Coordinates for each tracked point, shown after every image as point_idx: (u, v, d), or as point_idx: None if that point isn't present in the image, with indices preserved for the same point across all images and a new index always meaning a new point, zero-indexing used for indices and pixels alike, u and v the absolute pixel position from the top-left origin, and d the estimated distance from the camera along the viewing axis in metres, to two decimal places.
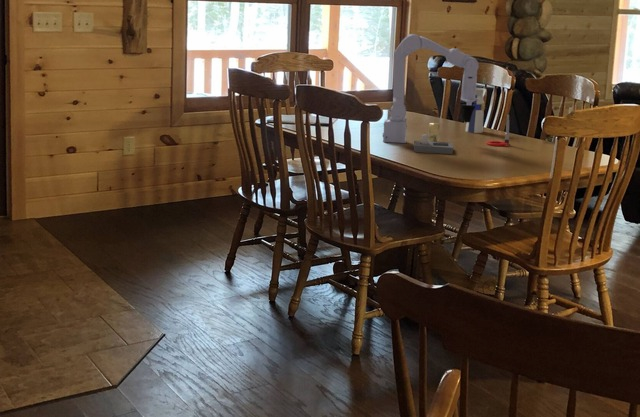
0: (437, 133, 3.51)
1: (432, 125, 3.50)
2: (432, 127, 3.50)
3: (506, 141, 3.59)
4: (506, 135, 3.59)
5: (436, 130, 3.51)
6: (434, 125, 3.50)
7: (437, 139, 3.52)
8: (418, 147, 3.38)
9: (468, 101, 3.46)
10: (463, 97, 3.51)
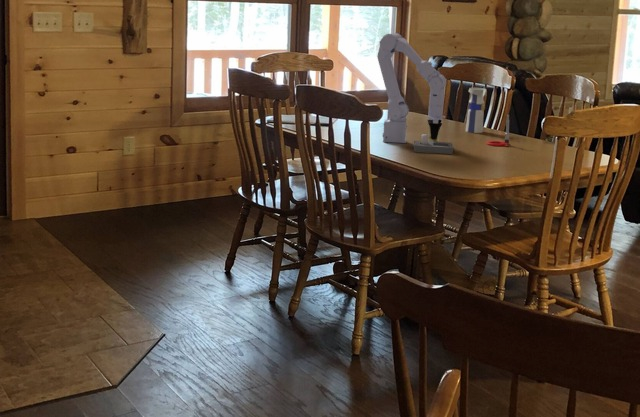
0: None
1: None
2: None
3: (506, 141, 3.59)
4: (506, 135, 3.59)
5: None
6: None
7: (437, 139, 3.52)
8: (418, 147, 3.38)
9: (435, 119, 3.44)
10: (430, 115, 3.49)
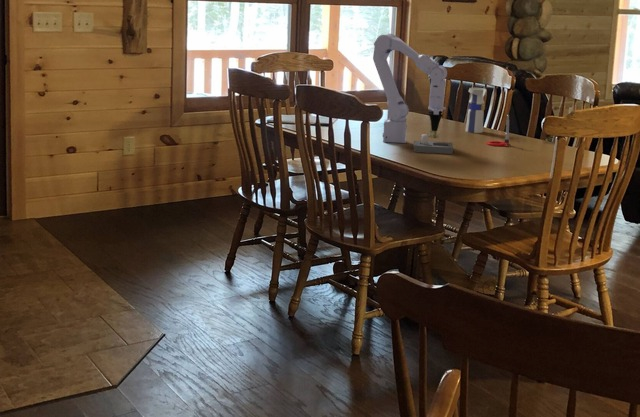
0: None
1: None
2: None
3: (506, 141, 3.59)
4: (506, 135, 3.59)
5: None
6: None
7: (438, 131, 3.51)
8: (418, 147, 3.38)
9: (435, 110, 3.43)
10: (431, 106, 3.48)
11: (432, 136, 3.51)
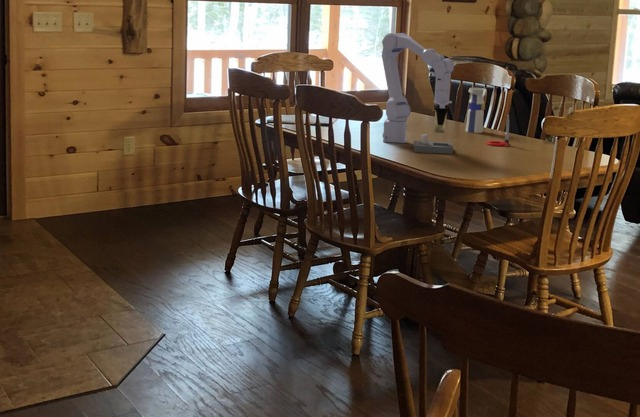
0: None
1: None
2: None
3: (506, 141, 3.59)
4: (506, 135, 3.59)
5: None
6: None
7: (443, 125, 3.43)
8: (418, 147, 3.38)
9: (441, 104, 3.35)
10: (436, 100, 3.40)
11: (438, 131, 3.43)
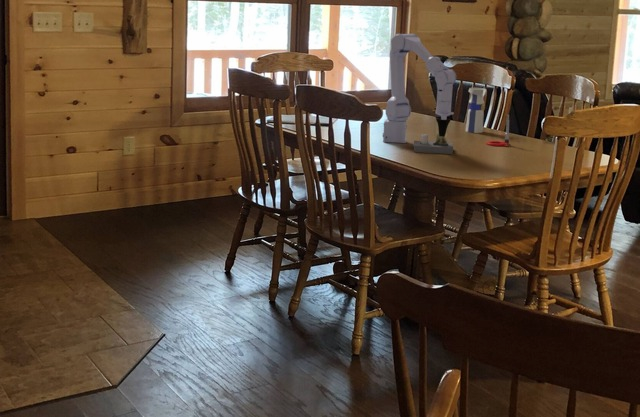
0: None
1: None
2: None
3: (506, 141, 3.59)
4: (506, 135, 3.59)
5: None
6: None
7: (445, 136, 3.40)
8: (418, 147, 3.38)
9: (443, 115, 3.33)
10: (438, 111, 3.38)
11: (439, 142, 3.41)
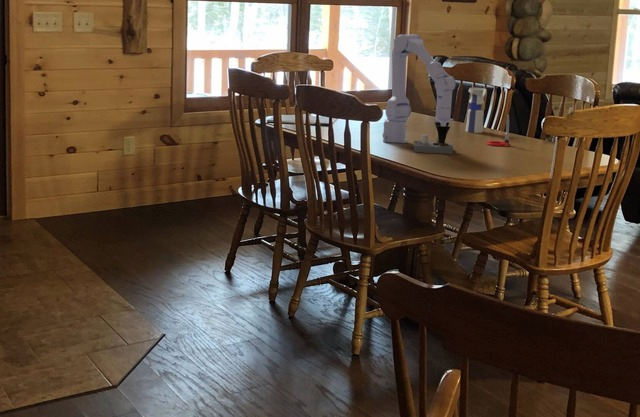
0: None
1: None
2: None
3: (506, 141, 3.59)
4: (506, 135, 3.59)
5: None
6: None
7: (444, 144, 3.41)
8: (418, 147, 3.38)
9: (442, 122, 3.33)
10: (437, 118, 3.38)
11: None
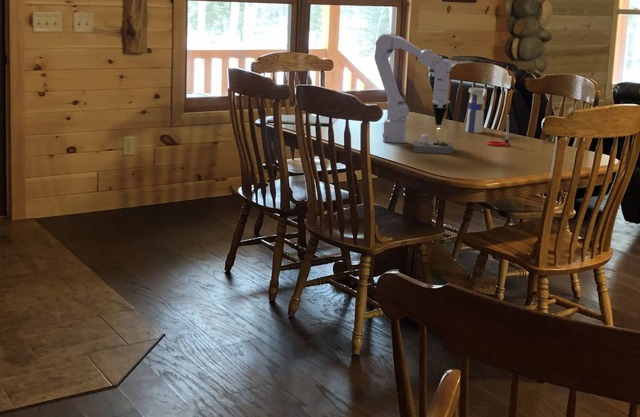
0: (444, 138, 3.40)
1: (439, 130, 3.40)
2: (439, 131, 3.40)
3: (506, 141, 3.59)
4: (506, 135, 3.59)
5: (443, 135, 3.40)
6: (441, 130, 3.39)
7: (444, 144, 3.41)
8: (418, 147, 3.38)
9: (439, 104, 3.42)
10: (435, 99, 3.47)
11: None
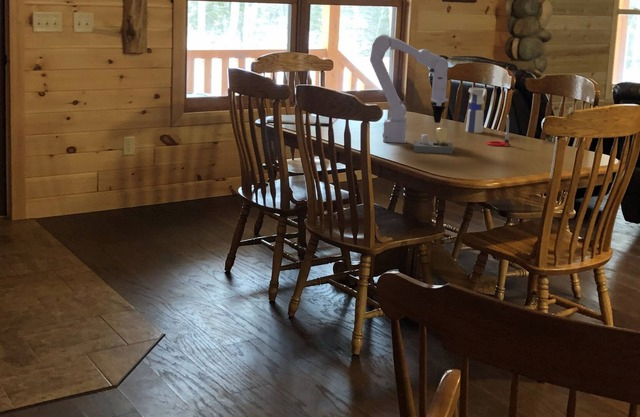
0: (444, 138, 3.40)
1: (439, 130, 3.40)
2: (439, 131, 3.40)
3: (506, 141, 3.59)
4: (506, 135, 3.59)
5: (443, 135, 3.40)
6: (441, 130, 3.39)
7: (444, 144, 3.41)
8: (418, 147, 3.38)
9: (438, 102, 3.46)
10: (433, 98, 3.51)
11: None
